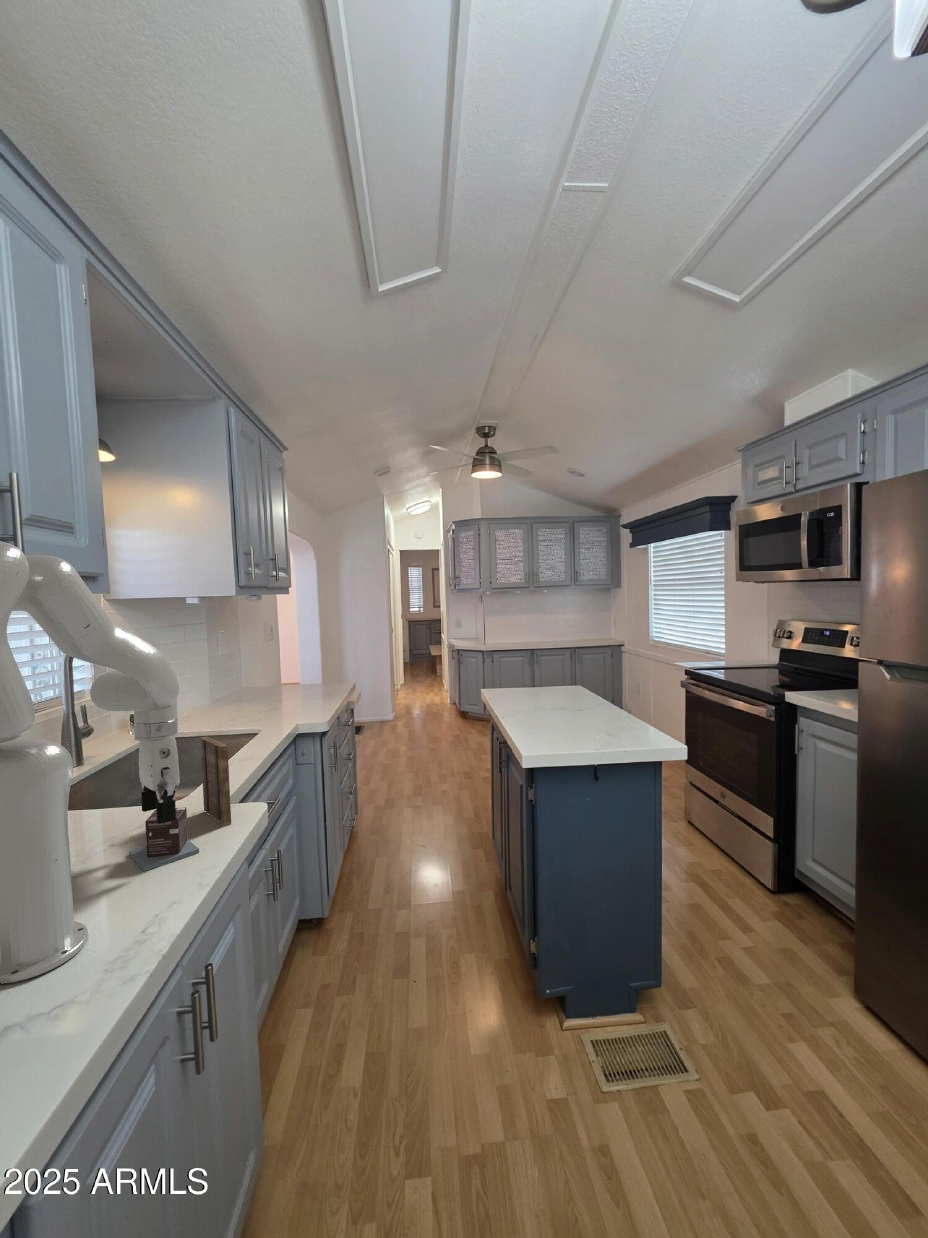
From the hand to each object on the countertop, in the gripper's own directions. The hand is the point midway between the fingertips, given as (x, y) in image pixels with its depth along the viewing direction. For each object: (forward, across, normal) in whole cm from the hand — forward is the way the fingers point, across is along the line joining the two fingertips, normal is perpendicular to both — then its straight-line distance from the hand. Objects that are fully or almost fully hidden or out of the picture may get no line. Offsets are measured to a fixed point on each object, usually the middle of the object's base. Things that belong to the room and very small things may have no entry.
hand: (158, 815), depth 108 cm
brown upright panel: (+8, +11, -10) cm, 17 cm away
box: (+8, +1, -2) cm, 8 cm away
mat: (+8, +1, -1) cm, 8 cm away
